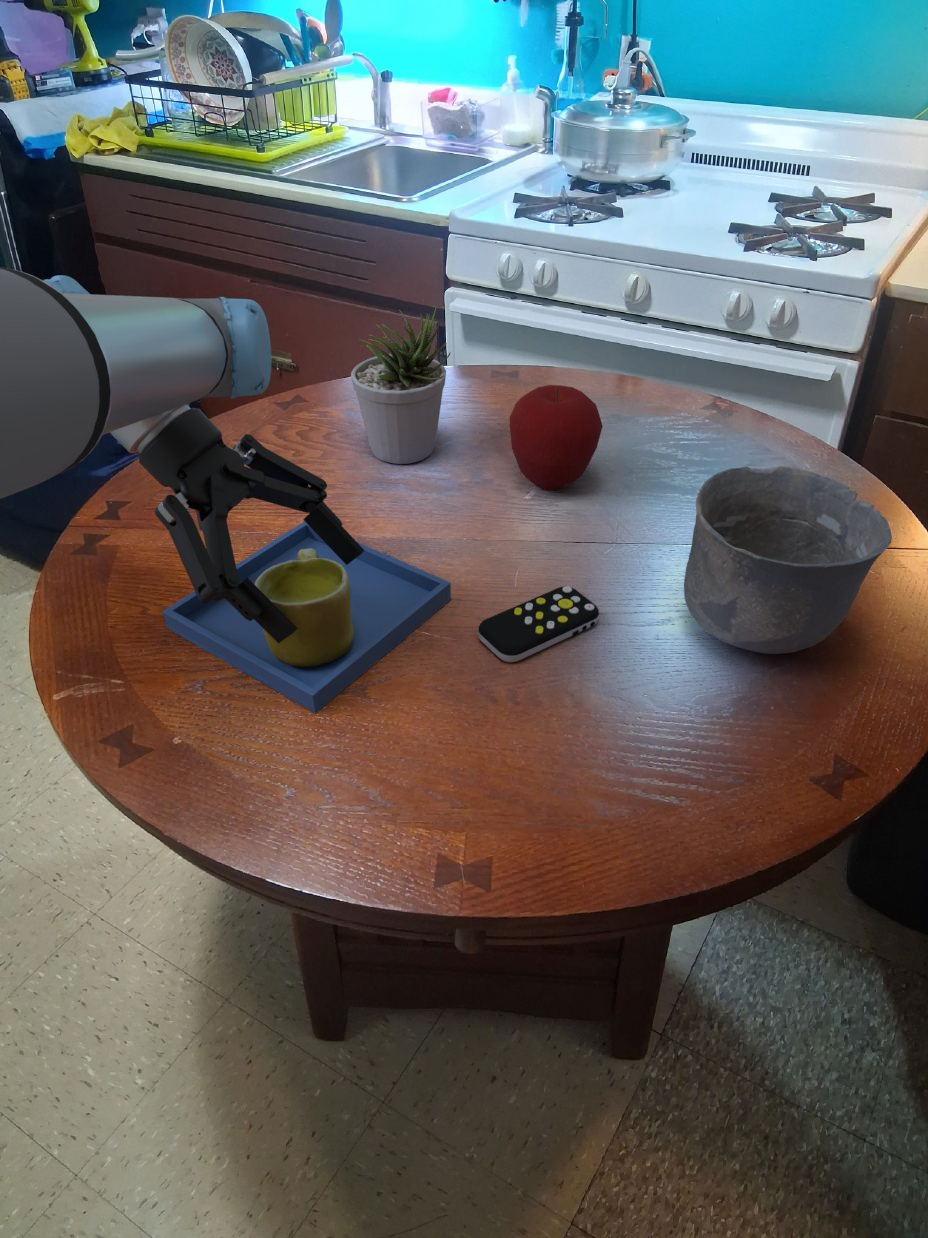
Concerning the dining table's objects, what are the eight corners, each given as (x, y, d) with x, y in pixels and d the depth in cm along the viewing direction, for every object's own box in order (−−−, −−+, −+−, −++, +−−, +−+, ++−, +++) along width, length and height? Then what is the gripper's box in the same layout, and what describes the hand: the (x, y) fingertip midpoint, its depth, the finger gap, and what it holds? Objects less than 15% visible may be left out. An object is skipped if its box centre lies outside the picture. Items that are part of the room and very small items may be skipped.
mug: (358, 671, 84) (321, 579, 80) (264, 688, 86) (224, 600, 82) (389, 612, 94) (358, 528, 90) (304, 630, 97) (270, 549, 93)
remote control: (472, 635, 92) (472, 621, 90) (567, 594, 97) (568, 579, 96) (507, 668, 88) (507, 654, 86) (603, 623, 93) (605, 608, 92)
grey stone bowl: (858, 608, 95) (902, 488, 85) (834, 713, 82) (882, 587, 73) (696, 566, 101) (720, 450, 91) (651, 658, 89) (673, 535, 79)
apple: (600, 505, 111) (610, 409, 103) (508, 505, 111) (511, 408, 103) (591, 459, 120) (600, 367, 112) (507, 459, 121) (509, 366, 112)
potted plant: (384, 485, 115) (373, 337, 103) (344, 442, 125) (329, 301, 112) (467, 462, 120) (467, 318, 107) (423, 422, 129) (417, 285, 117)
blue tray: (315, 713, 83) (312, 695, 81) (166, 628, 93) (161, 611, 91) (451, 599, 96) (450, 582, 95) (308, 536, 106) (306, 519, 105)
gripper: (222, 398, 93) (359, 545, 98) (55, 516, 75) (234, 688, 80) (257, 357, 88) (400, 513, 93) (88, 473, 70) (276, 659, 75)
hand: (324, 594), depth 86 cm, fingers open, 13 cm apart
